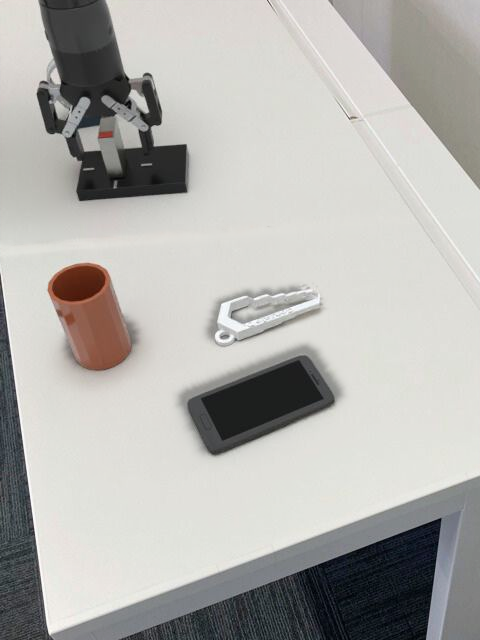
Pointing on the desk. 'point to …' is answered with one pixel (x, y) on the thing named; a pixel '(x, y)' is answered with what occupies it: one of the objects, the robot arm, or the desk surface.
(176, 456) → the desk surface
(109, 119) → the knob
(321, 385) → the cell phone
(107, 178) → the hob panel
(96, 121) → the watch
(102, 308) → the tumbler
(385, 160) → the desk surface
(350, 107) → the desk surface
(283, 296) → the white stepped wedge frame
